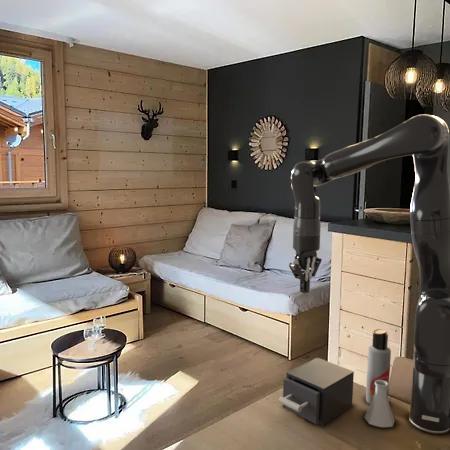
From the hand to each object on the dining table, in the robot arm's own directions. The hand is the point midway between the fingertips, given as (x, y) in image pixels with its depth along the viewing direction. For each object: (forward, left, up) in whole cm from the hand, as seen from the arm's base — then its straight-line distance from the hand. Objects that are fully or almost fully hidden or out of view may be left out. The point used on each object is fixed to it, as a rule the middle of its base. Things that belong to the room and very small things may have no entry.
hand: (304, 292), depth 130 cm
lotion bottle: (-19, +11, -27) cm, 35 cm away
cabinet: (-3, +14, -27) cm, 30 cm away
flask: (-17, +20, -27) cm, 38 cm away
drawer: (+1, +17, -26) cm, 31 cm away
